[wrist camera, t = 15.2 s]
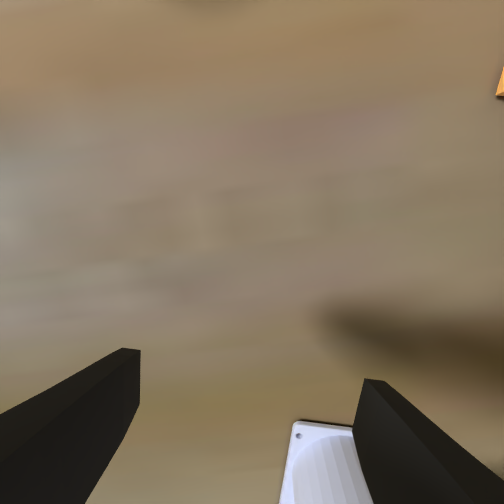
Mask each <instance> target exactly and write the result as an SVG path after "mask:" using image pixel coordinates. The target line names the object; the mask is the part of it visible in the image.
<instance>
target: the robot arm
mask: <svg viewBox="0 0 504 504" xmlns="http://www.w3.org/2000/svg"><path fill="white" fill-rule="evenodd" d="M140 352H141V350H136V349H128V348H121V349H119V350H117V351H115V352H113V353H111V354H109V355H107V356H106V357H104V358H102V359H100V360H99V361H97V362H95V363H93V364H92V365H90V366H88V367H86V368H85V369H83V370H81V371H79V372H78V373H76V374H74V375H72V376H71V377H69V378H67V379H65V380H64V381H62V382H60V383H58V384H56V385H55V386H53V387H51V388H49V389H47V390H46V391H44V392H42V393H40V394H38V395H36V396H34V397H32V398H30V399H28V400H26V401H25V402H23V403H21V404H19V405H17V406H15V407H13V408H11V409H9V410H7V411H6V412H4V413H2V414H0V504H85V502H86V501H87V499H88V497H89V496H90V494H91V492H92V491H93V489H94V487H95V486H96V484H97V482H98V481H99V479H100V477H101V476H102V474H103V472H104V471H105V469H106V467H107V466H108V464H109V462H110V461H111V459H112V457H113V456H114V454H115V452H116V450H117V449H118V447H119V445H120V444H121V442H122V440H123V438H124V436H125V434H126V432H127V430H128V428H129V426H130V424H131V422H132V420H133V417H134V415H135V413H136V411H137V408H138V406H139V404H140ZM298 433H301V434H298ZM279 504H504V481H503V480H502V479H501V478H500V477H498V476H497V475H496V474H495V473H493V472H492V471H491V470H490V469H488V468H487V467H486V466H485V465H483V464H482V463H481V462H480V461H478V460H477V459H476V458H475V457H474V456H472V455H471V454H470V453H469V452H467V451H466V450H465V449H464V448H463V447H461V446H460V445H459V444H458V443H457V442H455V441H454V440H453V439H452V438H451V437H450V436H448V435H447V434H446V433H445V432H444V431H443V430H441V429H440V428H439V427H438V426H437V425H436V424H434V423H433V422H432V421H431V420H430V419H429V418H427V417H426V416H425V415H424V414H423V413H422V412H420V411H419V410H418V409H417V408H416V407H415V406H414V405H412V404H411V403H410V402H409V401H408V400H407V399H405V398H404V397H403V396H402V395H401V394H400V393H398V392H397V391H396V390H395V389H394V388H392V387H391V386H390V385H389V384H387V383H386V382H385V381H381V380H373V379H365V378H364V383H363V387H362V391H361V395H360V399H359V403H358V407H357V412H356V416H355V420H354V424H353V428H350V427H343V426H335V425H327V424H320V423H312V422H304V421H297V422H295V423H294V424H293V428H292V434H291V439H290V445H289V450H288V456H287V462H286V467H285V473H284V479H283V484H282V490H281V495H280V501H279Z"/></svg>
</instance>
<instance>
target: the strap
mask: <svg viewBox="0 0 504 504" xmlns="http://www.w3.org/2000/svg"><path fill="white" fill-rule="evenodd" d="M496 95H498V96H504V68H503V71H502V75H501V78H500V82H499V85H498V88H497V92H496Z"/></svg>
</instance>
